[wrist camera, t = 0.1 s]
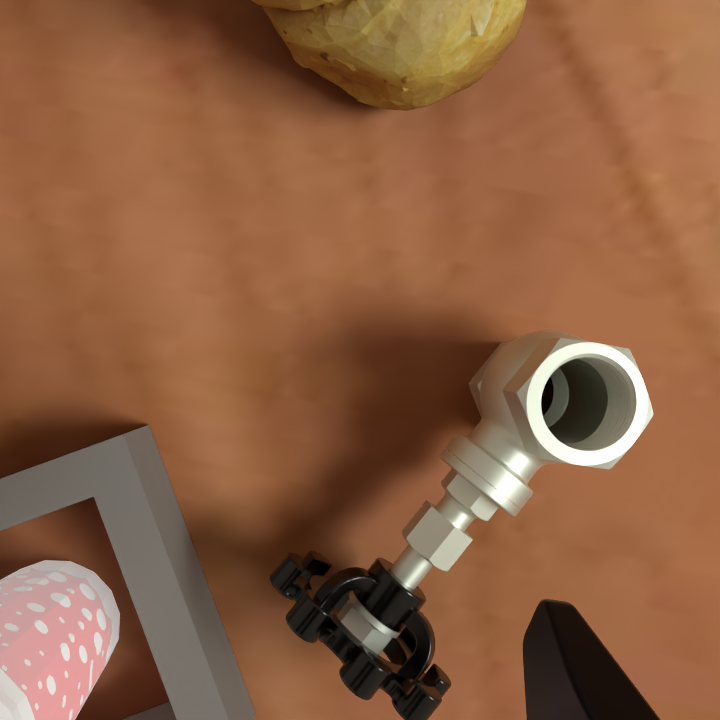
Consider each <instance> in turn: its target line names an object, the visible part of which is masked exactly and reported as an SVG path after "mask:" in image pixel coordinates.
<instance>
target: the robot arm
mask: <svg viewBox="0 0 720 720" xmlns="http://www.w3.org/2000/svg"><path fill="white" fill-rule="evenodd" d="M523 664H524V680H525V697H526V714H527V720H660V719H659V717H658V716H657V715H656V713H655V712H654V711H653V709H652V708H651V707H650V705H649V704H648V703H647V701H646V700H645V699H644V697H643V696H642V695H641V694H640V692H639V691H638V690H637V688H636V687H635V686H634V684H633V683H632V682H631V680H630V679H629V678H628V676H627V675H626V674H625V672H624V671H623V670H622V668H621V667H620V666H619V664H618V663H617V662H616V661H615V659H614V658H613V657H612V655H611V654H610V653H609V651H608V650H607V649H606V647H605V646H604V645H603V643H602V642H601V641H600V639H599V638H598V637H597V635H596V634H595V633H594V632H593V630H592V629H591V628H590V626H589V625H588V624H587V622H586V621H585V620H584V618H583V617H582V616H581V614H580V613H579V612H578V610H577V609H576V608H575V607H574V606H573V605H572V604H570V603H569V602H565V601H557V600H550V599H544V600H542V601H541V602H540V603H539V604H538V606H537V608H536V610H535V613H534V615H533V617H532V619H531V621H530V624H529V626H528V628H527V630H526V633H525V636H524V640H523Z"/></svg>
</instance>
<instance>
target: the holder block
mask: <svg viewBox="0 0 720 720" xmlns="http://www.w3.org/2000/svg"><path fill="white" fill-rule="evenodd" d="M91 497H94V499H95V501H96V504H97V507H98V509H99V512H100V515H101V518H102V520H103V523H104V526H105V528H106V531H107V534H108V536H109V539H110V542H111V544H112V547H113V550H114V552H115V555H116V558H117V561H118V563H119V566H120V569H121V571H122V574H123V577H124V579H125V582H126V585H127V587H128V590H129V593H130V595H131V598H132V601H133V604H134V606H135V609H136V612H137V614H138V617H139V620H140V622H141V625H142V628H143V630H144V633H145V636H146V638H147V641H148V644H149V647H150V649H151V652H152V655H153V657H154V660H155V663H156V665H157V668H158V671H159V673H160V676H161V679H162V681H163V684H164V687H165V690H166V692H167V695H168V698H169V700H170V701H169V702H166V703H164V704H161V705H158V706H156V707H153V708H150V709H148V710H145V711H143V712H140V713H137V714H135V715H132V716H129V717H127V718H124V719H122V720H254V717H255V711H254V708H253V705H252V702H251V700H250V697H249V694H248V692H247V689H246V686H245V684H244V681H243V678H242V675H241V673H240V670H239V667H238V665H237V662H236V659H235V656H234V654H233V651H232V648H231V646H230V643H229V640H228V638H227V635H226V632H225V629H224V627H223V624H222V621H221V619H220V616H219V613H218V610H217V608H216V605H215V602H214V600H213V597H212V594H211V591H210V589H209V586H208V583H207V581H206V578H205V575H204V573H203V570H202V567H201V564H200V562H199V559H198V556H197V554H196V551H195V548H194V545H193V543H192V540H191V537H190V535H189V532H188V529H187V526H186V524H185V521H184V518H183V516H182V513H181V510H180V508H179V505H178V502H177V499H176V497H175V494H174V491H173V489H172V486H171V483H170V480H169V478H168V475H167V472H166V470H165V467H164V464H163V462H162V459H161V456H160V453H159V451H158V448H157V445H156V443H155V440H154V437H153V434H152V432H151V429H150V426H149V425H146V426H143V427H141V428H138V429H135V430H132V431H130V432H127V433H124V434H121V435H119V436H116V437H113V438H110V439H108V440H105V441H102V442H99V443H96V444H94V445H91V446H88V447H85V448H83V449H80V450H77V451H74V452H72V453H69V454H66V455H63V456H60V457H58V458H55V459H52V460H49V461H47V462H44V463H41V464H38V465H36V466H33V467H30V468H27V469H25V470H22V471H19V472H16V473H13V474H11V475H8V476H5V477H2V478H0V531H1V530H4V529H6V528H9V527H12V526H15V525H17V524H20V523H23V522H26V521H28V520H31V519H34V518H37V517H39V516H42V515H45V514H48V513H50V512H53V511H56V510H58V509H61V508H64V507H67V506H69V505H72V504H75V503H78V502H80V501H83V500H86V499H89V498H91Z"/></svg>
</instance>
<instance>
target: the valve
mask: <svg viewBox="0 0 720 720" xmlns="http://www.w3.org/2000/svg"><path fill="white" fill-rule="evenodd" d="M549 377H551V379H552V383H553V387H554V395H553V400H552V403H551V406H550V408H549V409H548V411H547V412H546V413H545V415H544V416H543V415H542V408H541V399H542V393H543V390H544V387H545V384H546V382H547V381H548V379H549ZM468 384H469V387H470V390H471V393H472V395H473V398H474V401H475V403H476V406H477V409H478V411H479V414H480V416H481V421H480V422H479V423H478V425H477V426H476V427H475V428H474V430H473V431H472V432H471V433H470V435H468V436H464V435H462V434H460V433H457V434H456V435H455V437H454V438H453V439H452V440H451V442H450V443H449V444H448V445H447V447H446V449H447V450H446V449H444V450H443V452H442V453H441V454H440V458H441V459H442V460H443V461H444V462H445V463H447V464H448V465H449V466H450V467H451V468H452V469H451V471H450V472H449V473H448V474H447V476H446V477H445V478H444V479H443V481H442V482H441V485H442V487H443V488H444V489H445V495H444V497H443V498H442V499H441V501H440V502H439V503H438V504H437V506H435V505H433V504H432V503H431V502H429V501H428V500H427V501H426V502H425V503H424V504H423V506H422V507H421V508H420V509H419V511H418V512H417V513H416V514H415V516H414V517H413V518H412V519H411V520H410V522H409V523H408V524H407V525H406V527H405V528H404V529H403V532H402V534H403V537H404V539H405V540H406V541H407V542H408V543H409V545H408V546H407V547H406V549H405V550H404V551H403V552H402V554H401V555H400V556H399V557H398V559H397V560H396V561H395V562H394V564H392V563H390V562H389V561H387V560H385V559H383V558H377V559H376V560H375V562H374V563H373V564H372V565H371V567H370V568H369V569H368V570H366V569H364V568H358V567H353V568H347V569H344V570H341V571H339V572H337V573H336V574H334V575H332V576H331V577H330V578H327V577H325V576H324V575H325V574H326V572H327V571H328V570H329V569H330V567H331V566H332V564H331V563H330V562H329V561H328V560H327V559H326V558H324V557H323V556H322V555H321V554H319V553H317V552H315V551H310V552H309V553H308V554H307V555H306V557H305V558H304V559H303V558H301V557H300V556H298V555H296V554H294V553H288V554H287V555H286V556H285V558H284V559H283V560H282V561H281V563H280V564H279V565H278V566H277V567H276V569H275V570H274V571H273V572H272V574H271V575H270V581H271V583H272V585H273V586H274V587H275V589H276V590H277V591H278V592H279V593H281V594H282V595H283V596H285V597H286V598H288V599H290V600H295V601H296V603H295V605H294V606H293V607H292V608H291V609H290V611H289V612H288V613H287V615H286V621H287V624H288V625H289V627H290V628H291V629H292V631H293V632H294V633H295V634H296V635H298V636H299V637H300V638H301V639H303V640H305V641H307V642H309V643H315V642H316V641H317V640H319V641H321V642H323V643H324V644H325V645H326V646H328V647H329V648H330V649H331V650H332V652H333V653H334V654H335V655H336V656H337V657H338V658H339V659H340V660H341V662H342V663H343V666H342V667H341V668H340V671H339V673H340V677H341V679H342V681H343V682H344V684H345V685H346V686H347V687H348V689H349V690H350V691H351V692H353V693H354V694H355V695H356V696H358V697H359V698H361V699H364V700H370V699H371V698H372V697H373V696H374V694H375V693H376V692H377V691H378V689H379V688H380V689H382V690H384V691H385V692H386V693H387V694H388V695H389V696H390V697H391V698H392V703H393V706H394V708H395V709H396V711H397V712H398V713H399V714H400V716H401V717H402V718H403V719H404V720H428V718H429V717H430V716H431V715H432V713H433V712H434V711H435V710H436V708H437V707H438V706H439V705H440V703H441V702H442V697H443V695H444V694H445V693H446V692H447V690H448V689H449V688H450V687H451V681H450V679H449V678H448V676H447V675H446V674H445V673H444V671H443V670H442V669H441V668H440V667H438V666H437V665H436V664H433V665H432V666H431V668H430V669H429V670H428V671H427V673H426V674H425V673H424V671H425V670H426V669H427V668H428V666H429V665H430V663H431V661H432V658H433V656H434V652H435V637H434V632H433V629H432V627H431V624H430V623H429V621H428V619H427V618H426V617H425V616H424V615H423V614H422V613H421V612H420V611H419V610H420V608H421V607H422V606H423V604H424V603H425V602H426V597H425V595H424V594H423V592H422V591H421V589H420V588H419V587H418V586H417V585H418V584H419V583H420V582H421V580H422V579H423V578H424V577H425V575H426V574H427V573H428V572H429V570H430V569H431V568H432V567H433V565H434V566H435V567H437V568H439V569H440V570H443V571H448V570H449V569H450V568H451V566H452V565H453V564H454V563H455V561H456V560H457V559H458V558H459V556H460V555H461V554H462V553H463V551H464V550H465V549H466V548H467V546H468V545H469V544H470V543H471V541H472V540H473V539H472V538H471V537H470V536H469V534H468V533H467V532H466V531H465V530H466V529H467V527H468V526H469V525H470V523H471V522H472V521H473V520H474V519H476V518H480V519H482V520H484V521H488V520H489V519H490V518H491V516H492V515H493V514H494V513H495V511H496V510H497V509H498V508H499V507H500V508H502V509H503V510H504V511H506V512H507V513H508V514H509V515H511V516H512V517H515V516H516V515H517V513H518V512H519V511H520V509H521V508H522V507H523V506H524V505H525V503H526V502H527V501H528V500H529V498H530V497H531V496H532V495H533V491H532V490H531V489H530V488H529V487H528V482H529V480H530V479H531V478H532V477H533V475H534V474H535V473H536V472H537V470H538V469H539V468H540V467H541V466H543V465H545V464H556V463H569V464H575V465H582V466H589V467H596V468H604V469H611V468H612V467H613V466H614V465H615V464H616V463H617V462H618V461H619V460H620V458H621V457H622V456H623V455H624V454H625V453H626V452H627V451H628V449H629V448H630V447H631V446H632V445H633V443H634V442H635V441H636V440H637V438H638V437H639V435H640V434H641V433H642V431H643V430H644V429H645V427H646V426H647V424H648V423H649V421H650V419H651V418H652V416H653V415H654V414H653V410H652V406H651V402H650V399H649V396H648V393H647V390H646V387H645V384H644V381H643V379H642V376H641V374H640V371H639V369H638V366H637V364H636V362H635V360H634V358H633V356H632V354H631V352H630V350H629V349H627V348H622V347H617V346H611V345H605V344H599V343H593V342H587V341H585V340H584V339H582V338H580V337H577V336H575V335H572V334H569V333H565V332H560V331H538V332H532V333H529V334H525V335H522V336H520V337H518V338H516V339H514V340H512V341H510V342H502V343H500V344H499V345H498V347H497V348H496V349H495V350H494V352H493V353H492V354H491V355H490V357H489V358H488V359H487V360H486V362H485V363H484V364H483V365H482V366H481V368H480V369H479V370H478V371H477V373H476V374H475V375H474V376H473V378H472V379H471V380H470V382H469V383H468ZM449 451H450V452H451V453H452V454H451V453H450V452H449ZM455 456H456V457H457V458H456V457H455ZM460 460H461V461H462V462H461V461H460ZM465 464H466V465H467V466H468V467H467V466H466V465H465ZM471 469H472V470H473V471H472V470H471ZM476 473H477V474H478V475H477V474H476ZM481 477H482V478H483V479H482V478H481ZM486 481H487V482H488V483H489V484H488V483H487V482H486ZM492 486H493V487H494V488H493V487H492ZM497 490H498V491H499V492H498V491H497ZM502 494H503V495H504V496H503V495H502ZM507 498H508V499H509V500H510V501H509V500H508V499H507ZM512 502H513V503H514V504H515V505H514V504H513V503H512ZM517 506H518V507H519V508H520V509H519V508H518V507H517ZM334 607H335V608H337V609H338V610H340V611H339V613H338V614H337V616H336V615H335V614H334V612H333V611H332V610H333V608H334ZM382 650H383V651H384V653H385V654H386V655H387V657H388V658H389V660H390V662H389V661H387V660H385V659H384V658H382V657H381V656H379V654H380V653H381V652H382Z"/></svg>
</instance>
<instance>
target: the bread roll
mask: <svg viewBox="0 0 720 720" xmlns="http://www.w3.org/2000/svg"><path fill="white" fill-rule="evenodd" d="M250 1H252V2H254V3H255V4H257V5H259V6H261V7H262V8H263V10H264V11H265V13H266V14H267V15H268V17H269V18H270V20H271V22H272V24H273V26H274V28H275V30H276V31H277V32H278V34H279V35H280V36H281V38H282V39H283V41H284V42H285V44H286V45H287V47H288V48H289V50H290V52H291V54H292V56H293V59H294V61H295V62H297V63H298V64H299V65H301V66H302V67H303V68H310V69H312V70H313V71H314V72H316V73H317V74H319V75H320V76H321V77H323V78H325V79H327V80H329V81H330V82H332V83H334V84H336V85H338V86H340V87H341V88H342V89H343V90H344V91H345V92H346V93H348V94H350V95H352V96H353V97H355V98H356V99H357V101H359V102H362V103H365V104H368V105H371V106H375V107H380V108H385V109H394V110H406V111H407V110H411V109H416V108H421V107H426V106H429V105H431V104H433V103H435V102H438V101H440V100H442V99H444V98H446V97H448V96H450V95H452V94H454V93H456V92H459V91H461V90H463V89H466V88H468V87H470V86H471V85H472V84H474V83H475V82H477V81H478V80H479V79H481V78H482V77H483V76H484V75H485V74H486V73H487V72H488V71H490V70H491V69H492V68H493V67H494V66H495V64H496V63H497V62H498V61H499V59H500V58H501V56H502V55H503V54H504V52H505V51H506V50H507V48H508V47H509V46H510V44H511V43H512V42H513V41H514V39H515V37H516V35H517V33H518V31H519V28H520V26H521V22H522V18H523V14H524V10H525V7H526V3H527V0H250Z"/></svg>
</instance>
